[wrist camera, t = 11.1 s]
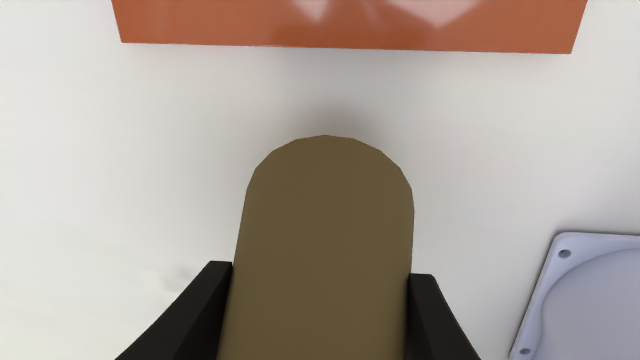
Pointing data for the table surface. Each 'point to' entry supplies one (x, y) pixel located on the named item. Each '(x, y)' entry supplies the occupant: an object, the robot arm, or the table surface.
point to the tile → (357, 24)
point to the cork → (321, 257)
